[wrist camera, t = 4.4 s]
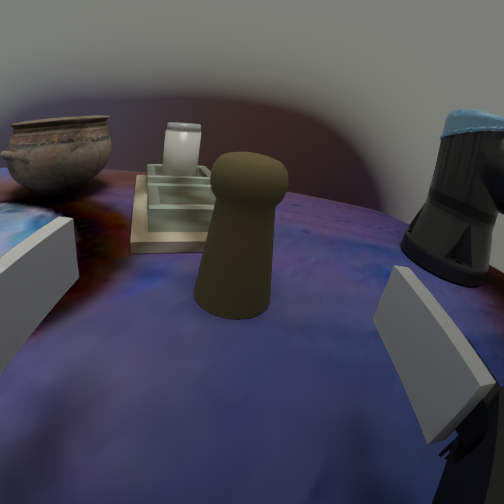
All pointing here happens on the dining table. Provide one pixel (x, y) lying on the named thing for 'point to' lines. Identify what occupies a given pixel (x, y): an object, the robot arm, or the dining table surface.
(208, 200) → the condiment caddy
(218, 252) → the pepper mill
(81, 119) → the cooking pot
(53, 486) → the dining table surface
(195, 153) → the salt shaker
